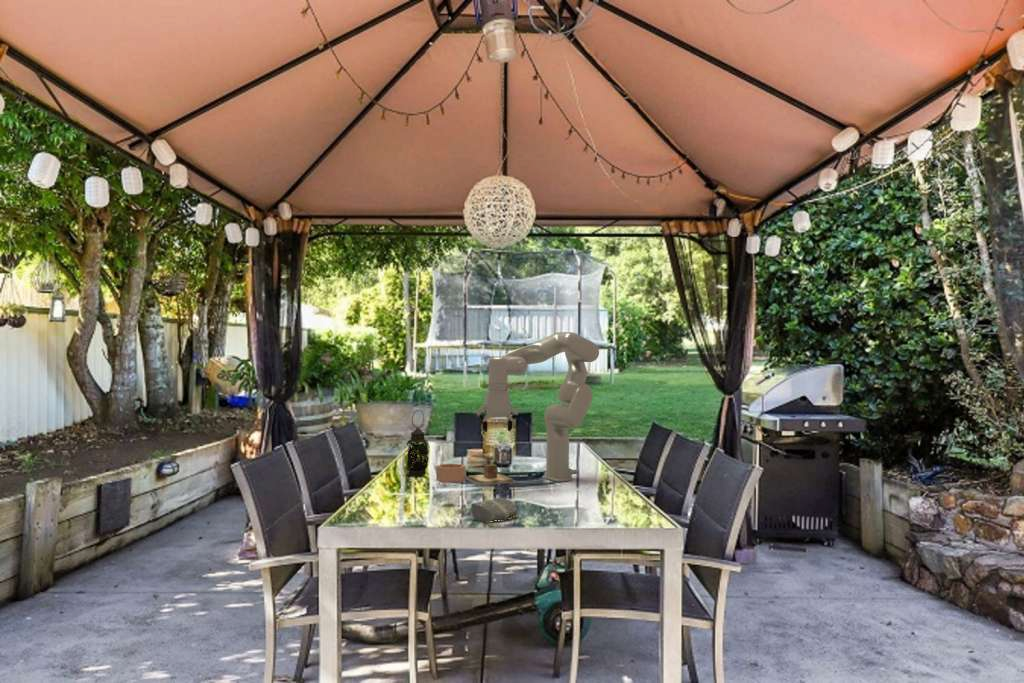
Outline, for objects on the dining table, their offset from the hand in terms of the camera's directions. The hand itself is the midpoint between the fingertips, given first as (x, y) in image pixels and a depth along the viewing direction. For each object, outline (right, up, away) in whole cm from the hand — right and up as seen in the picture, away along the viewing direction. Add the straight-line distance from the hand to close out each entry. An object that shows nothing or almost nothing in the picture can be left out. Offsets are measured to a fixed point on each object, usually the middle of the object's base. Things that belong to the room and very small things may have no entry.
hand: (497, 431), depth 286 cm
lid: (-3, -21, +10) cm, 24 cm away
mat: (-3, -22, +10) cm, 25 cm away
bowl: (-19, -22, +10) cm, 31 cm away
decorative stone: (0, -22, -52) cm, 57 cm away
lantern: (-35, -22, +24) cm, 48 cm away
